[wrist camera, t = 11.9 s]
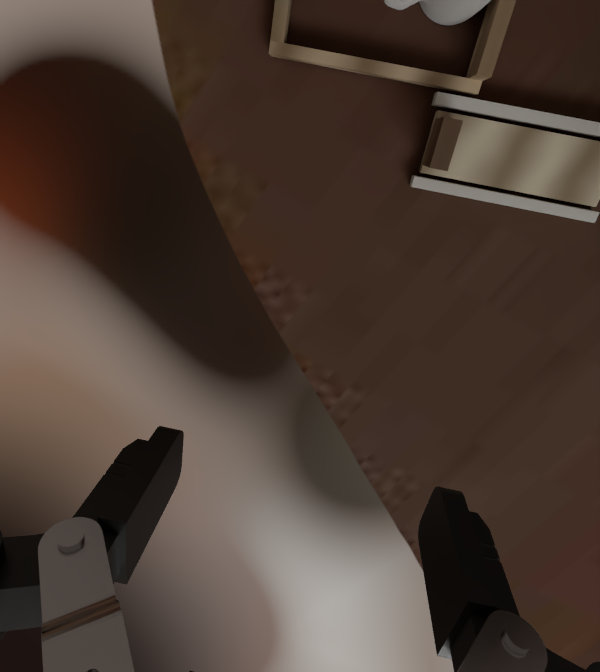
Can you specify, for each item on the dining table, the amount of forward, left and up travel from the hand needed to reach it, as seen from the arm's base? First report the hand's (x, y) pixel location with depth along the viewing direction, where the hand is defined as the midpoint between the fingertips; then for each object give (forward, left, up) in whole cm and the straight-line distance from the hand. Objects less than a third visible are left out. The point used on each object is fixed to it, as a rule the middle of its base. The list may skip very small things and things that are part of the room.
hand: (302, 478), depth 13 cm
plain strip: (-15, -10, -36) cm, 40 cm away
